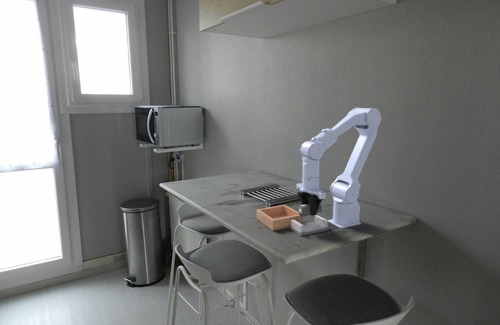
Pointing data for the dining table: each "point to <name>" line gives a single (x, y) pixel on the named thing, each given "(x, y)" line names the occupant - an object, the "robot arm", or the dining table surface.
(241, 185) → the dining table surface
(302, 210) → the cell
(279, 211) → the bin
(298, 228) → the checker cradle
